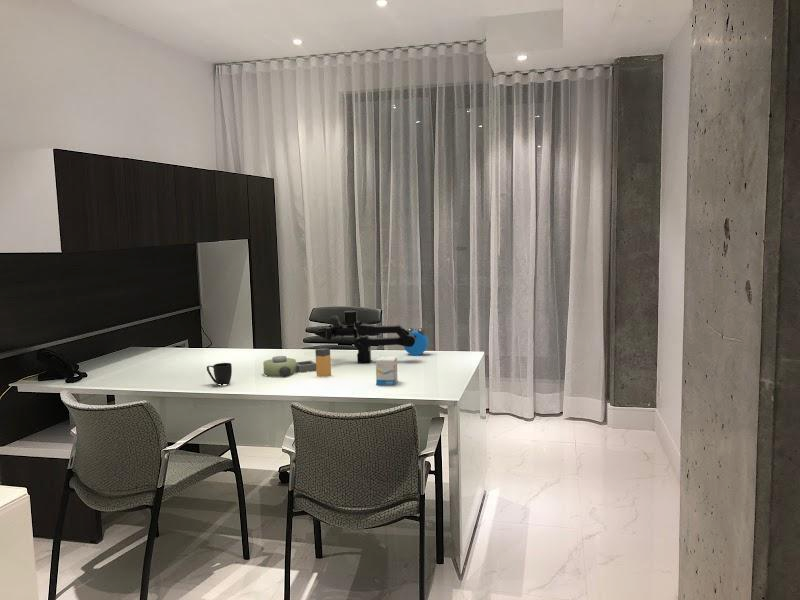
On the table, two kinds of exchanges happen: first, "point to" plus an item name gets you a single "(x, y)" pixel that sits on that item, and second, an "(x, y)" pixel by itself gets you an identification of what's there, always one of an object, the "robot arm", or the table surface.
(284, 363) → the mower deck
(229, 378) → the mug
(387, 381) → the ink box
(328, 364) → the orange bottle
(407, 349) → the alarm clock
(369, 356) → the robot arm
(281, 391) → the table surface
